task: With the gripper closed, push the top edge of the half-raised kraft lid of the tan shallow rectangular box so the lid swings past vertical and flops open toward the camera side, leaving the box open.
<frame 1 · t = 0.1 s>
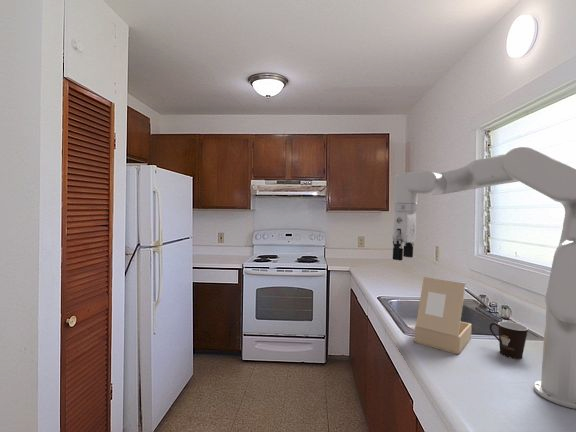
hand: (402, 258, 120), 31 cm above the worktop, fingers open, 9 cm apart
lid: (440, 305, 123), point 15 cm above the worktop, hinge at 70.0°
tan shallow rectangular box: (443, 340, 129), on the worktop
coffee mug: (508, 353, 120), on the worktop
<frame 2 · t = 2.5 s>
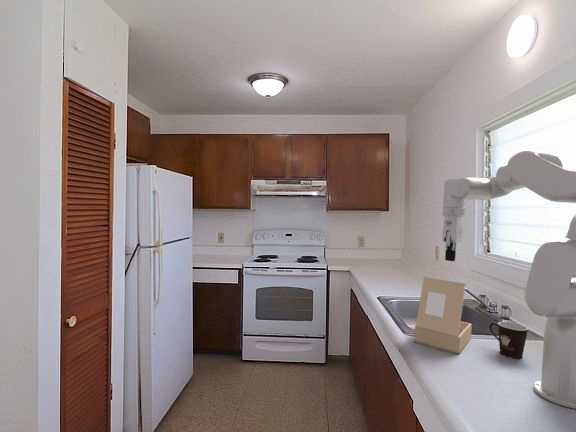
hand: (450, 260, 132), 29 cm above the worktop, fingers closed
nothing on the worktop moved.
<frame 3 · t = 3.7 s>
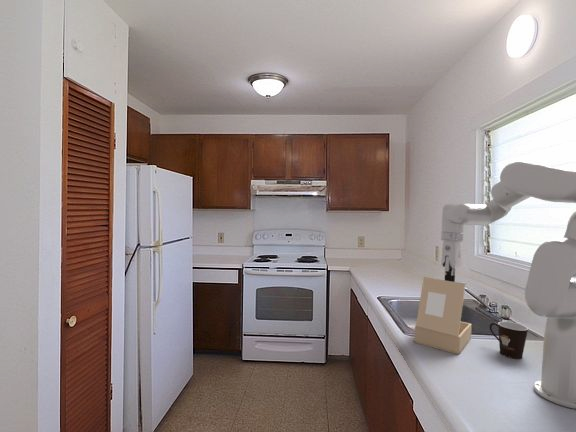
hand: (449, 285, 132), 20 cm above the worktop, fingers closed
nothing on the worktop moved.
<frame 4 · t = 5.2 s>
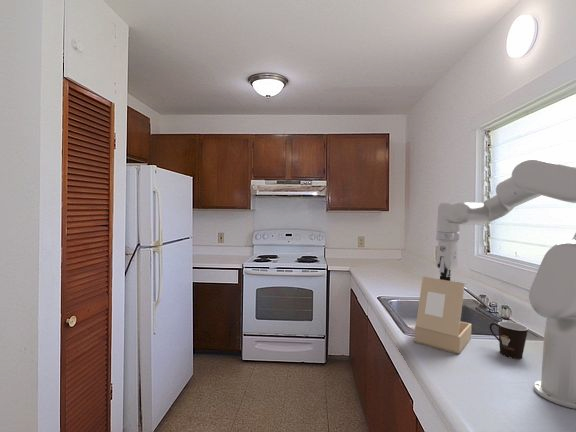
hand: (444, 287, 127), 20 cm above the worktop, fingers closed
lid: (439, 305, 123), point 15 cm above the worktop, hinge at 74.0°, touching gripper
everything else where it was.
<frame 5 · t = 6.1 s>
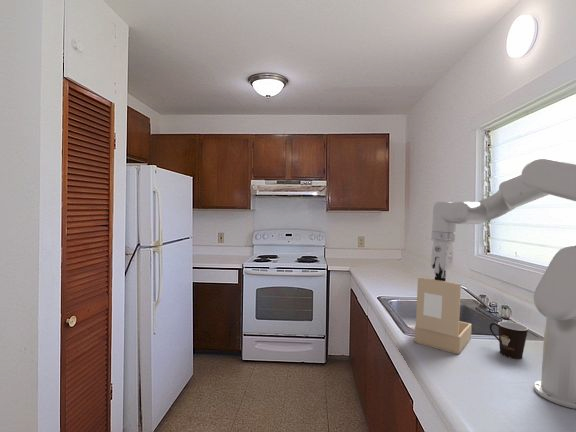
hand: (439, 288, 123), 21 cm above the worktop, fingers closed
lid: (437, 306, 121), point 15 cm above the worktop, hinge at 91.2°, touching gripper
everything else where it was.
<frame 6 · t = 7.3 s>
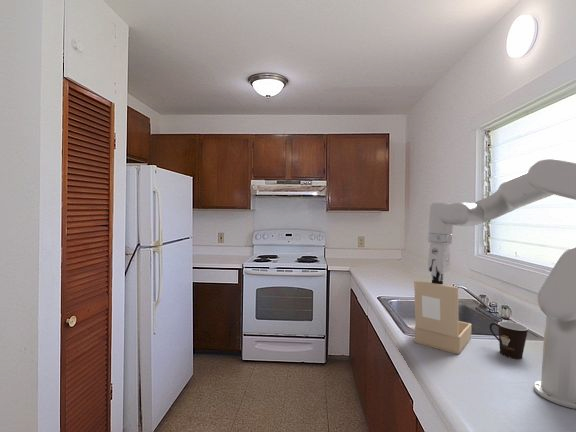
hand: (436, 291, 120), 20 cm above the worktop, fingers closed
lid: (435, 308, 119), point 15 cm above the worktop, hinge at 103.3°, touching gripper, tan shallow rectangular box
everything else where it was.
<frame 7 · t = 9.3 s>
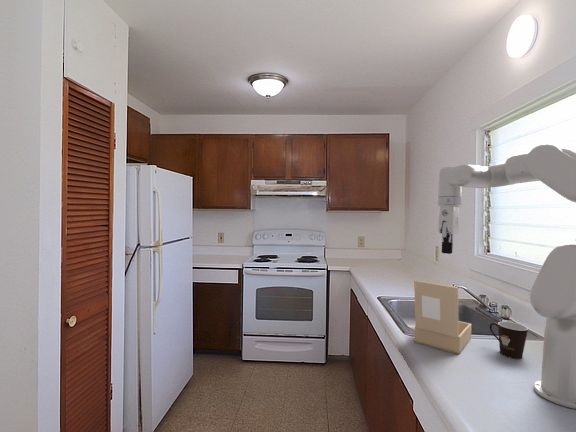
hand: (446, 253, 125), 33 cm above the worktop, fingers closed
lid: (435, 308, 119), point 15 cm above the worktop, hinge at 103.5°
everything else where it was.
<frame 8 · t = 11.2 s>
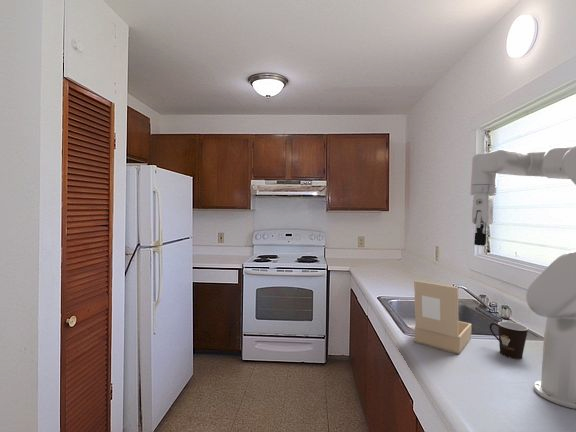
hand: (480, 245, 117), 37 cm above the worktop, fingers closed
nothing on the worktop moved.
at the end: lid at +104° (first picture: +70°); the gripper is holding nothing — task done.
